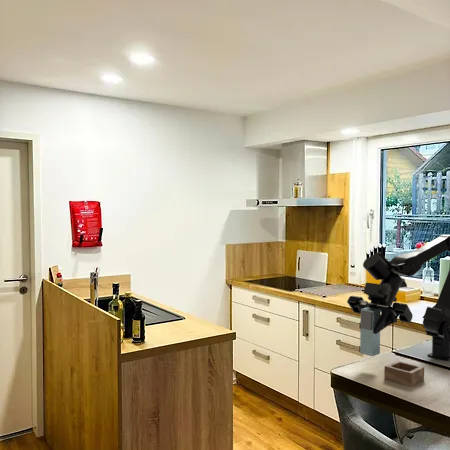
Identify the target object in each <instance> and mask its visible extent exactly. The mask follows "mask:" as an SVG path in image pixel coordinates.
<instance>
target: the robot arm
mask: <svg viewBox="0 0 450 450" xmlns="http://www.w3.org/2000/svg"><path fill="white" fill-rule="evenodd" d="M446 251H447V252H449V253H450V234H441V235H439V236H438V237H437V238H435V239H433V240H431V241H429V242H427V244H425V245H422V246H421V247H419V248H418V249H416V250H414V251H411V252H408V253H402V254H399V255H395V256H394V257H393V258H392V259H391V260H388V259H387V258H386V257H385V255H384V254H383V253H382V252H379V251H376V252H375V253H374V254H372V255H370V256H369V257H367V258H366V259H365V260H364V261H363V263H362V266H363V268H364V270H366V271H367V272H368V274H369V275H370V276H372V278H374V279H375V280H376V281H380V282H379V284H378V283H373V282H365V285H364V289H363V294H364V295H367V300H368V301H370V302H368V301H367V300H365V299H363V297H362V296H357V295H356V296H355V295H351V296H350V295H349V297H348V299H347V300H346V303H347V304H348V306H349V307H350V309H351V310H352V312H353V313H355V314H360V315H361V309H363V308H367V307H370V308H376V309H381V313H380V318H379V320H378V322H377V324H376V326H375V329H374V334H377V333H378V332H380V333H381V332H382V331H383V330H385V328H387V327H389V326H391V325H392V324H394V323H398V319H399V321H400V322H402V323H403V322H404V323H408V324H410V323H411V322H412V320H413V317H414V316H413V313H412V311H411V309H410V307H409V306H408V304H407V303H402V302H397V300H398V298H397V295H398V292H399V290H400V289H401V288H402V289H403V288H408V284H407V283H406V279H405V278H402V276H405V277H413V276H414V275H415V274H417V273H418V272H419V271H420V270H422V266H423V265H424V264H425V263H427V262H429V261H430V260H432V259H435V258H436V257H437V256H439V255H441V254H443V253H444V252H446ZM422 320H423V321H422V325H423V328H424V329H425V330H424V331H425V333H426V336H430V337H432V338H431V339H432V340H431V352H430V353H428V354H427V357H430V358H434V359H435V358H436V359H440V360H444V361H450V269H449V270H448V272H447V276H446V278H445V281H444V283H443V286H442V288H441V291H440V294H439V296H438V298H437V301H436V304H434V305H433V306H432V307H431V306H427V307H426V309H425V313H424V314H423V316H422ZM359 325H360V326H359V330H360V331H361V320H360V323H359Z"/></svg>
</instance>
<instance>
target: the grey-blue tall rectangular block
mask: <svg viewBox="0 0 450 450" xmlns="http://www.w3.org/2000/svg"><path fill="white" fill-rule="evenodd" d="M380 316H381V309H376V308H370V307H367V308H363V309H361V314H360V321H361V330H360V332H359V334H360V339H359V343H360V344H359V347H360V348H359V354H362V355H365V356H370V357H375V356H377V355H379V354H380V353H381V347H380V346H381V331H380V332H378V333H377V334H374V329H375V326H376V324H377V322H378V320H379V318H380Z"/></svg>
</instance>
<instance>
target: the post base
mask: <svg viewBox="0 0 450 450" xmlns="http://www.w3.org/2000/svg"><path fill="white" fill-rule="evenodd" d="M383 375H384V376H383V377H384V380H387V381H391V382H393V383H398V384H401V385H405V386H407V387H413V386H415V385H417V384H419V383H421V382H423V381H425V366H421V365H420V366H419V365H418V364H417V365H416V364H413V363H408V362H406V361H405V362H404V361H401V360H397V361H394V362H392V363H388V364H386V365H384V374H383Z"/></svg>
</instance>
